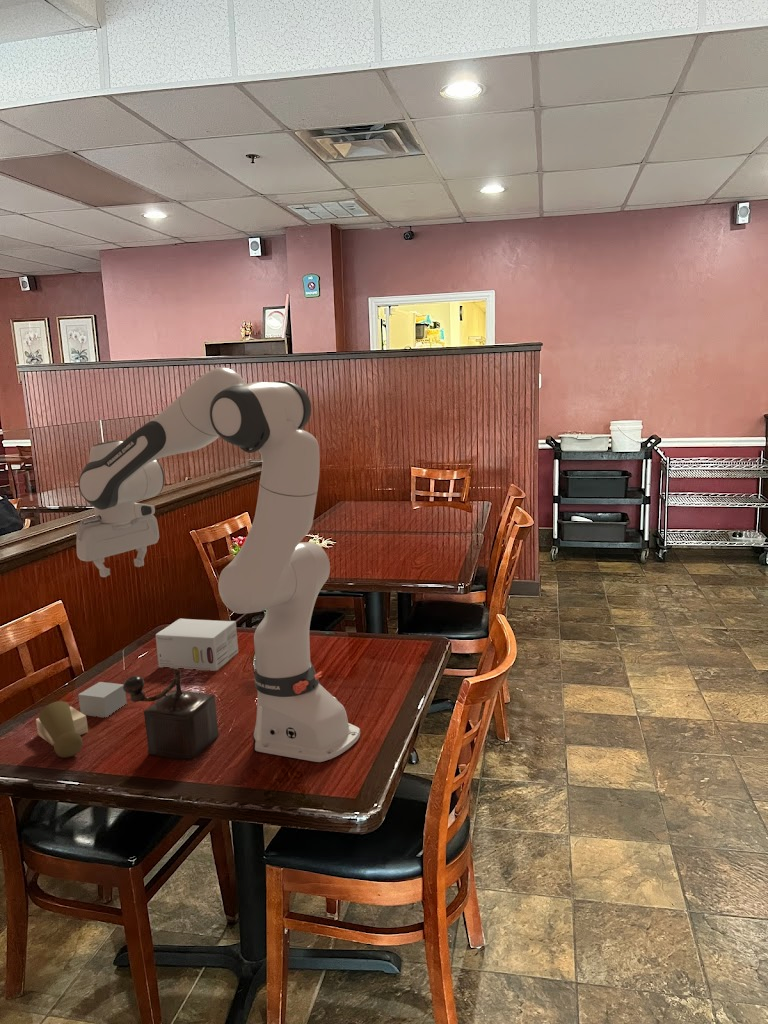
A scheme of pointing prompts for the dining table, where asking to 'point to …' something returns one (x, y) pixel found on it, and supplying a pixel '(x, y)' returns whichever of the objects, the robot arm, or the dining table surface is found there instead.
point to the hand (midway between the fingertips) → (122, 571)
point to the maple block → (78, 721)
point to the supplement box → (197, 644)
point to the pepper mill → (176, 719)
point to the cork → (61, 728)
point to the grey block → (102, 699)
